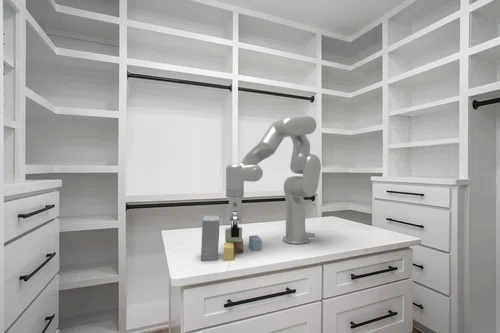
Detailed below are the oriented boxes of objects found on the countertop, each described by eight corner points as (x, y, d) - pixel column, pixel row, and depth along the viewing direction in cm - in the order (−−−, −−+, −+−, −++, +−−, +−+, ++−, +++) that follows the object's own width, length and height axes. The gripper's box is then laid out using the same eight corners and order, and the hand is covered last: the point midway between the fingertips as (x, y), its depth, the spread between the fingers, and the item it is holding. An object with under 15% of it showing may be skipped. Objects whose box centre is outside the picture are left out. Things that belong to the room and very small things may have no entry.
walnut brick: (242, 250, 109) (242, 238, 109) (243, 253, 105) (243, 241, 105) (226, 250, 108) (226, 239, 108) (226, 253, 104) (226, 241, 105)
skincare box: (202, 254, 104) (202, 215, 104) (219, 253, 105) (220, 215, 105) (200, 261, 96) (200, 219, 96) (219, 260, 96) (219, 219, 96)
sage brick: (241, 239, 109) (241, 227, 109) (242, 241, 105) (242, 229, 105) (225, 239, 108) (225, 227, 108) (225, 241, 104) (225, 229, 105)
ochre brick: (224, 254, 103) (224, 242, 103) (233, 254, 104) (233, 242, 104) (223, 261, 96) (223, 247, 96) (233, 260, 97) (233, 247, 97)
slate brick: (249, 246, 114) (248, 235, 114) (257, 246, 115) (257, 235, 115) (253, 251, 107) (252, 239, 108) (261, 251, 108) (261, 239, 108)
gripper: (244, 195, 99) (244, 239, 98) (242, 191, 116) (242, 229, 116) (225, 195, 98) (225, 240, 98) (226, 192, 115) (226, 229, 115)
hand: (234, 234), depth 107 cm, fingers open, 9 cm apart
